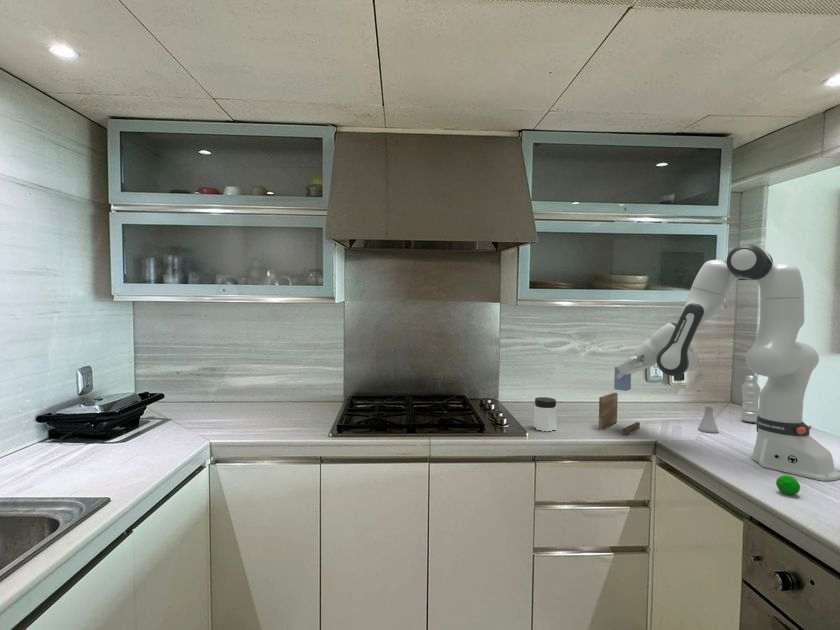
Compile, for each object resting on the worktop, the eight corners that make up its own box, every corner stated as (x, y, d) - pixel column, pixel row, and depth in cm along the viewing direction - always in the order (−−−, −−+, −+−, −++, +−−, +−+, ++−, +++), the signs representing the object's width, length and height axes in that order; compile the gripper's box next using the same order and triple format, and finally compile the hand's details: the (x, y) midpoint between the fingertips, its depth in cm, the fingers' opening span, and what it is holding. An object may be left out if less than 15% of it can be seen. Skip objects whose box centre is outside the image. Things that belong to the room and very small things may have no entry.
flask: (722, 434, 178) (723, 408, 178) (701, 432, 180) (702, 407, 179) (714, 429, 185) (715, 404, 185) (694, 427, 187) (695, 403, 186)
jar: (558, 432, 178) (559, 401, 178) (538, 432, 178) (538, 401, 178) (551, 425, 187) (552, 396, 187) (531, 425, 187) (532, 396, 186)
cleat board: (639, 428, 185) (640, 396, 184) (625, 435, 175) (626, 401, 174) (613, 423, 192) (614, 392, 192) (598, 429, 183) (599, 397, 182)
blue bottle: (630, 389, 182) (631, 364, 182) (625, 390, 179) (626, 365, 179) (619, 387, 186) (619, 363, 185) (614, 389, 182) (614, 364, 182)
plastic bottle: (757, 425, 192) (759, 377, 191) (738, 421, 197) (740, 375, 196) (761, 422, 196) (763, 376, 195) (742, 419, 201) (744, 374, 200)
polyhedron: (802, 499, 120) (802, 481, 120) (778, 495, 122) (779, 478, 122) (796, 492, 124) (796, 474, 124) (773, 488, 126) (774, 471, 126)
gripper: (643, 363, 167) (615, 386, 174) (662, 358, 181) (636, 380, 188) (631, 350, 170) (604, 373, 177) (651, 346, 184) (625, 368, 191)
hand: (621, 376), depth 183 cm, fingers closed on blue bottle, 5 cm apart
